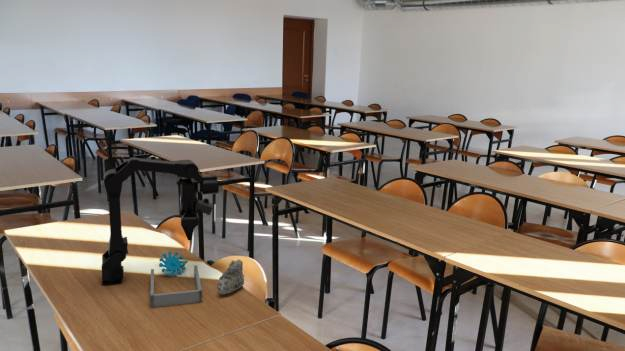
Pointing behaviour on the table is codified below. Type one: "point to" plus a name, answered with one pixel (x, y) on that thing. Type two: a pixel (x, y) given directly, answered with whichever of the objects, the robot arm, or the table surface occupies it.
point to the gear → (172, 263)
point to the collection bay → (176, 294)
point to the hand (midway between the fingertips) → (189, 235)
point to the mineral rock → (231, 278)
